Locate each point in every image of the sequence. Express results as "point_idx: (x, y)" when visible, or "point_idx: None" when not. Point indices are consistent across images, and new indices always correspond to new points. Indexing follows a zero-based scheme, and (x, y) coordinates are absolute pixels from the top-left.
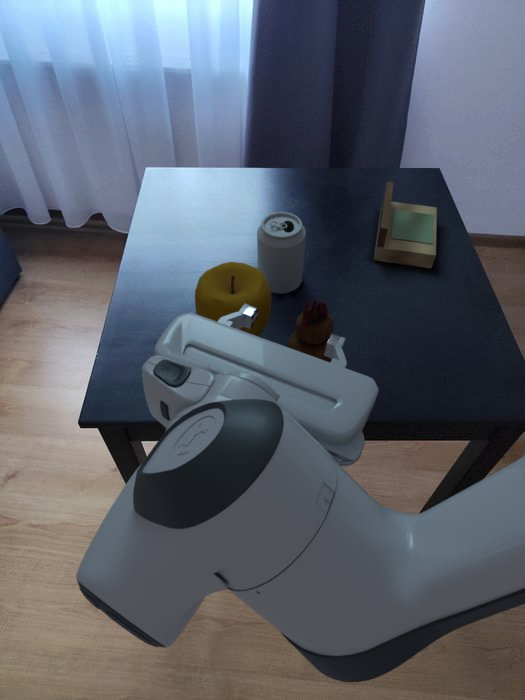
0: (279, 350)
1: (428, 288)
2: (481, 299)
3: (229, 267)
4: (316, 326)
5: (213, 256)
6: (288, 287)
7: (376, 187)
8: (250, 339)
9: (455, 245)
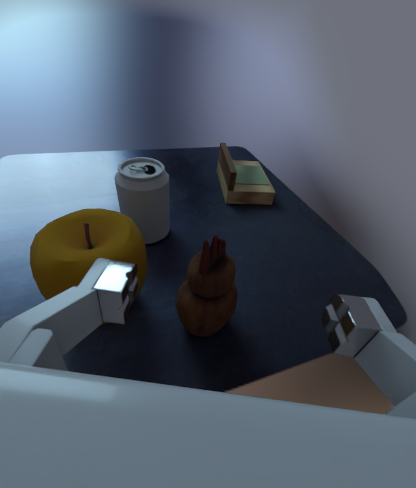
0: (290, 451)
1: (277, 219)
2: (319, 222)
3: (81, 215)
4: (219, 273)
5: None
6: (158, 235)
7: (207, 155)
8: (133, 425)
9: (279, 187)
